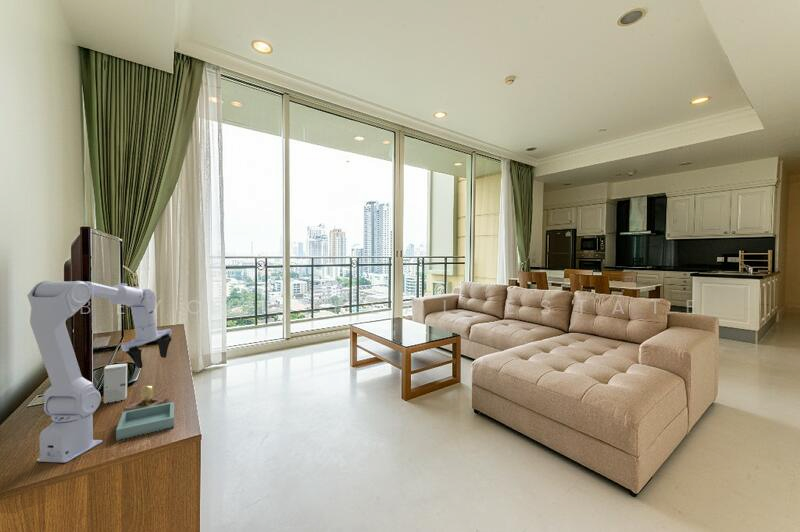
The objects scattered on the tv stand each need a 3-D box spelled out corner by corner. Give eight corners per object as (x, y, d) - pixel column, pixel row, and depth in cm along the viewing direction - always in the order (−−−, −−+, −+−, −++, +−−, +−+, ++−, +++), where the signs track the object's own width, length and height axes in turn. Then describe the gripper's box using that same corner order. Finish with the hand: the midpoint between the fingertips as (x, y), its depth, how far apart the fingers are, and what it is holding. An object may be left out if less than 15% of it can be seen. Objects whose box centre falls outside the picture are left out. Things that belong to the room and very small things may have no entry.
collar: (148, 413, 108) (148, 408, 108) (123, 412, 108) (123, 408, 108) (168, 402, 116) (168, 398, 116) (145, 401, 117) (145, 397, 117)
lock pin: (147, 409, 111) (147, 388, 110) (138, 409, 111) (138, 388, 111) (154, 405, 114) (154, 385, 113) (146, 405, 114) (146, 384, 114)
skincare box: (103, 404, 115) (102, 368, 114) (105, 399, 119) (105, 365, 118) (126, 399, 118) (125, 365, 118) (128, 395, 122) (127, 362, 122)
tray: (173, 427, 99) (173, 417, 99) (116, 440, 91) (116, 430, 91) (174, 410, 109) (174, 401, 109) (122, 421, 102) (122, 411, 102)
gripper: (160, 315, 119) (166, 350, 122) (112, 330, 106) (120, 369, 109) (173, 318, 116) (179, 354, 119) (125, 334, 103) (133, 374, 106)
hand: (152, 362), depth 114 cm, fingers open, 7 cm apart
